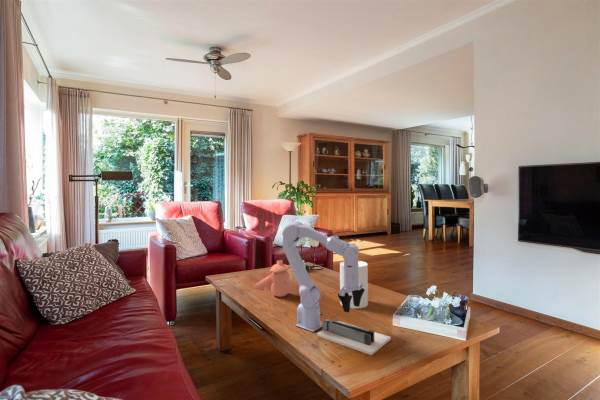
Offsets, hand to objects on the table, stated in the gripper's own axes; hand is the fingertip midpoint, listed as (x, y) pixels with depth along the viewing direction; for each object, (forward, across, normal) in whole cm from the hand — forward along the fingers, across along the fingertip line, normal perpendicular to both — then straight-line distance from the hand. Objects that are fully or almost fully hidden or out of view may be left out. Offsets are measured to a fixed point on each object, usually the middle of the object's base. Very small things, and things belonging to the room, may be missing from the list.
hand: (351, 308), depth 133 cm
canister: (+10, +28, +16) cm, 34 cm away
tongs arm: (+8, -5, -3) cm, 10 cm away
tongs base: (+8, -6, -2) cm, 10 cm away
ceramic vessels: (+10, +21, +65) cm, 69 cm away
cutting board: (+9, -4, -3) cm, 11 cm away
